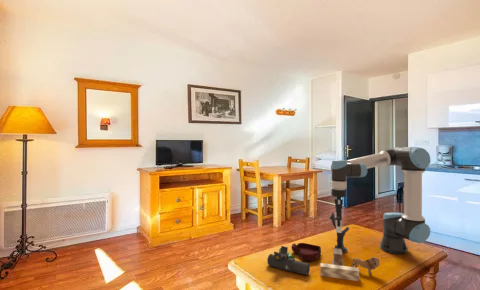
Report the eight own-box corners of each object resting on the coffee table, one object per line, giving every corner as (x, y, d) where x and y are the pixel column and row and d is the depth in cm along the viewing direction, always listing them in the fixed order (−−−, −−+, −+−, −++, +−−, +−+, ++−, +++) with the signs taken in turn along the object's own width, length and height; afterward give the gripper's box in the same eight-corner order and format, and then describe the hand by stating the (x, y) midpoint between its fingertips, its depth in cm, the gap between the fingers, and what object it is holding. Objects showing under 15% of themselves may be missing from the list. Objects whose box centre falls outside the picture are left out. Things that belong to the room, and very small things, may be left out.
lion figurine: (379, 273, 138) (379, 256, 138) (379, 278, 133) (379, 260, 133) (348, 267, 145) (348, 250, 145) (347, 271, 140) (347, 254, 140)
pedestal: (342, 263, 150) (343, 248, 150) (344, 270, 141) (344, 255, 141) (331, 261, 152) (331, 247, 152) (332, 268, 143) (332, 253, 143)
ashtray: (329, 260, 153) (329, 252, 153) (304, 264, 149) (304, 255, 149) (312, 248, 171) (312, 241, 171) (289, 251, 166) (289, 243, 166)
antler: (342, 247, 172) (342, 208, 171) (351, 252, 164) (351, 211, 164) (327, 250, 168) (327, 210, 168) (335, 255, 160) (335, 213, 160)
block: (358, 277, 134) (358, 267, 134) (359, 281, 130) (359, 271, 130) (320, 272, 140) (320, 262, 140) (320, 276, 136) (320, 266, 136)
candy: (295, 259, 153) (291, 253, 153) (290, 263, 152) (287, 257, 152) (285, 251, 165) (281, 246, 164) (281, 254, 164) (277, 249, 163)
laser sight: (304, 279, 132) (304, 259, 132) (264, 268, 144) (264, 249, 144) (311, 271, 140) (311, 252, 140) (272, 261, 152) (272, 243, 152)
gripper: (331, 185, 156) (330, 221, 156) (331, 192, 133) (330, 235, 133) (345, 185, 154) (344, 222, 154) (347, 193, 130) (347, 236, 130)
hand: (338, 228), depth 143 cm, fingers open, 13 cm apart
